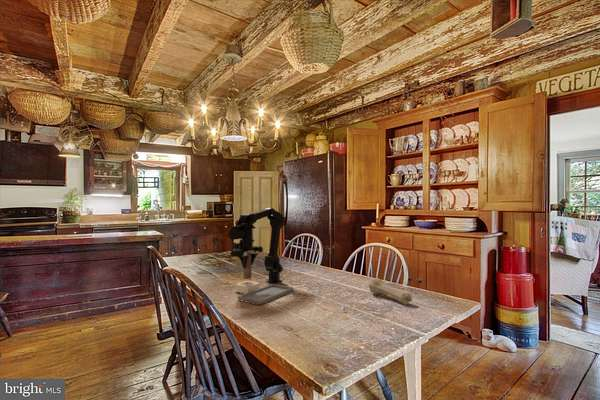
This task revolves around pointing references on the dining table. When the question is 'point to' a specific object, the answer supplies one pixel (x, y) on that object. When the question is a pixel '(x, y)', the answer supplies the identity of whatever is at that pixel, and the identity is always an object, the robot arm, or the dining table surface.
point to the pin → (248, 268)
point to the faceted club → (389, 291)
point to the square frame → (247, 286)
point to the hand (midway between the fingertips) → (247, 267)
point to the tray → (265, 294)
